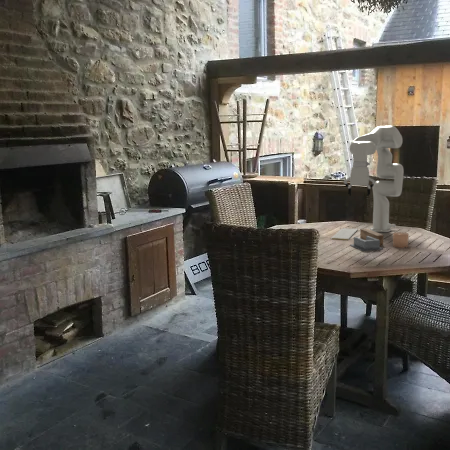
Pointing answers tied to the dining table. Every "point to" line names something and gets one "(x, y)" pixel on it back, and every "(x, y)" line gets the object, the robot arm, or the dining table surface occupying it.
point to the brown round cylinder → (400, 239)
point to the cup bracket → (366, 244)
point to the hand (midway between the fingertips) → (359, 195)
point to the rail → (371, 235)
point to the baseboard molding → (344, 233)
